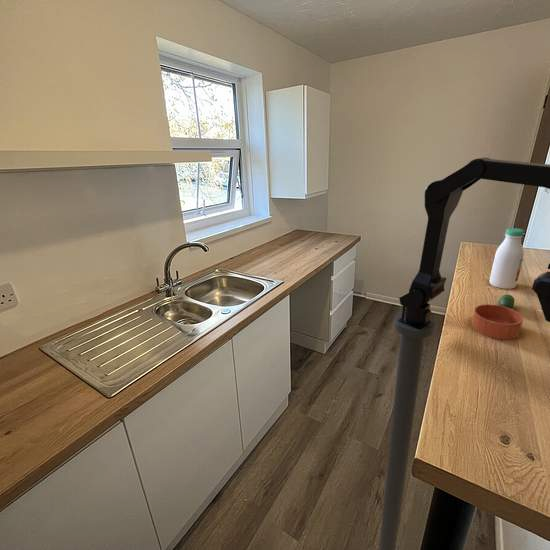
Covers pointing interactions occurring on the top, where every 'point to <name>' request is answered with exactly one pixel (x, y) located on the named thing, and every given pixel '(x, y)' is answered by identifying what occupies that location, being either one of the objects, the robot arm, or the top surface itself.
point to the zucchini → (507, 301)
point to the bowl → (497, 321)
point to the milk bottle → (508, 260)
